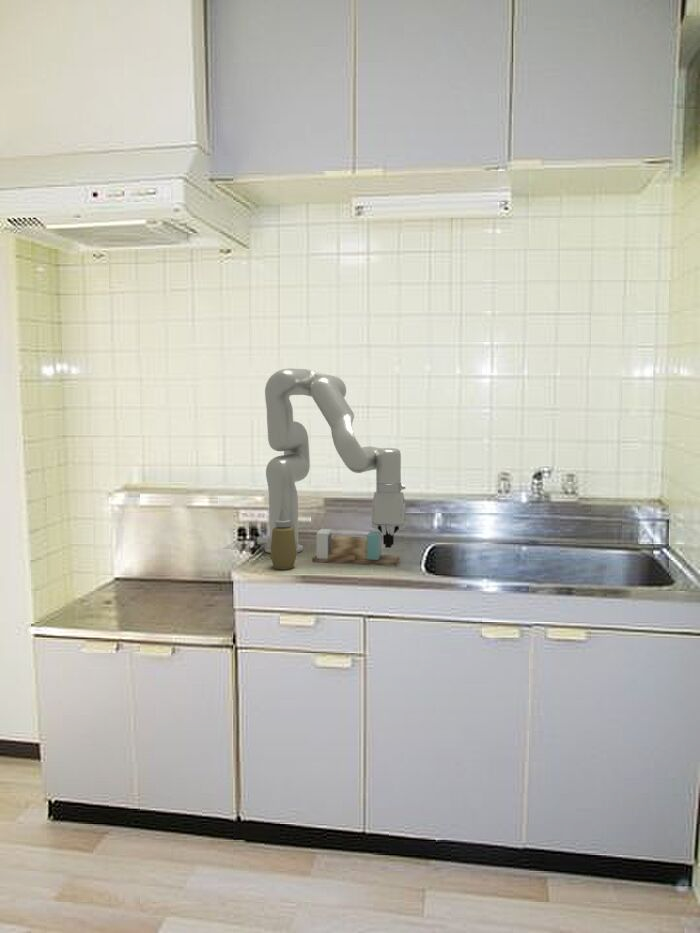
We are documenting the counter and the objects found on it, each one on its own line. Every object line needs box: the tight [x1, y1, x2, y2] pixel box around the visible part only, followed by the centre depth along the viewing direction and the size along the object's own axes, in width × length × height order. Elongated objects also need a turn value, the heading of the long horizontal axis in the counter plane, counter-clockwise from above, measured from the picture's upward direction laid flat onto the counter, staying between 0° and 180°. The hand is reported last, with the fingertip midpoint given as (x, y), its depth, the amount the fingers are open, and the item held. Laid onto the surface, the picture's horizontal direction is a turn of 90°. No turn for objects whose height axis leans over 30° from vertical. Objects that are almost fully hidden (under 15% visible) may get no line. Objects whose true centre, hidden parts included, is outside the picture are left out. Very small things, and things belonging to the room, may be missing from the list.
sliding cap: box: [366, 530, 383, 560], centre depth 231 cm, size 4×7×8 cm, turn 170°
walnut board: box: [312, 554, 400, 566], centre depth 232 cm, size 26×9×2 cm, turn 80°
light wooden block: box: [332, 535, 367, 559], centre depth 232 cm, size 14×4×6 cm, turn 80°
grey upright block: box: [315, 528, 333, 559], centre depth 234 cm, size 4×7×8 cm, turn 170°
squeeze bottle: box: [269, 508, 298, 570], centre depth 222 cm, size 8×8×18 cm
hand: (388, 546), depth 230 cm, fingers closed
